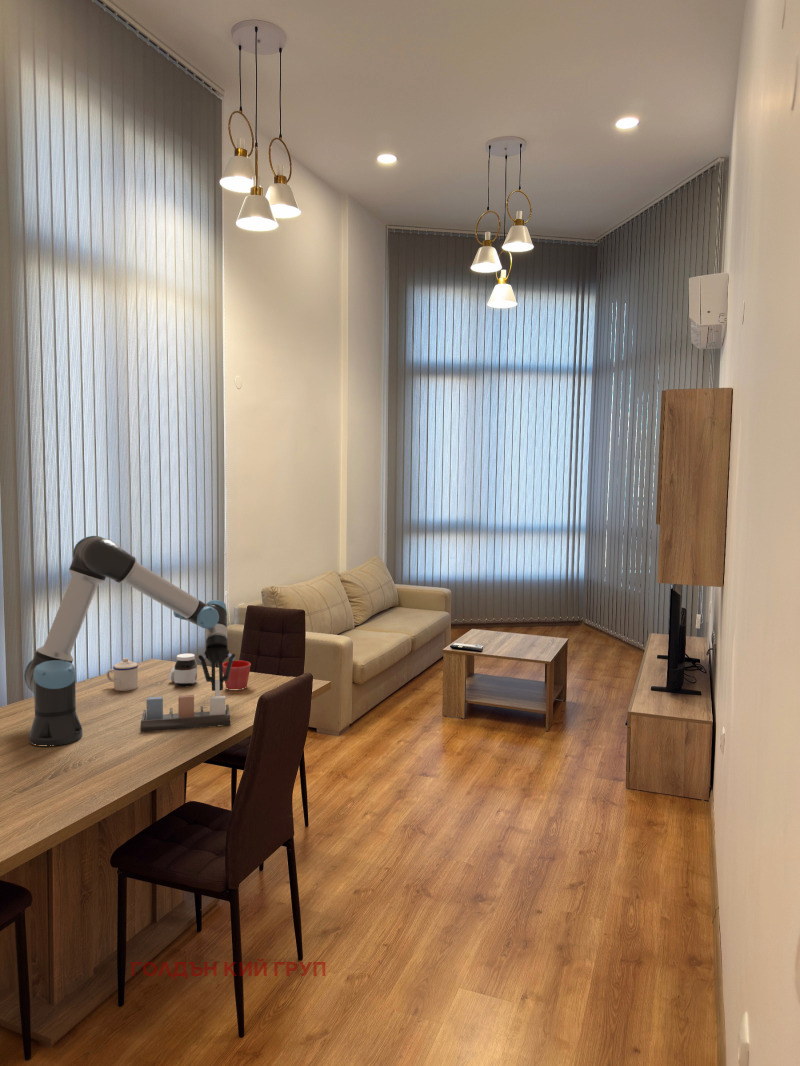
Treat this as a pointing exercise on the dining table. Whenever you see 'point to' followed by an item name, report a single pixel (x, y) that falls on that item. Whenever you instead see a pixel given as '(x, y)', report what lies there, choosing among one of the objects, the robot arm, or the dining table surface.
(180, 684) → the spread jar
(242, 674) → the flower pot
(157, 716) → the key slate
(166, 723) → the grey compartment tray
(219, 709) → the key offwhite
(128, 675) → the teacup with lid
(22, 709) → the dining table surface
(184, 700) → the key terracotta
